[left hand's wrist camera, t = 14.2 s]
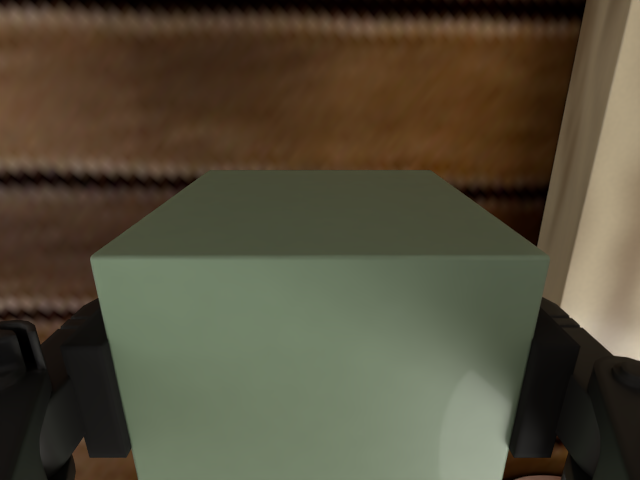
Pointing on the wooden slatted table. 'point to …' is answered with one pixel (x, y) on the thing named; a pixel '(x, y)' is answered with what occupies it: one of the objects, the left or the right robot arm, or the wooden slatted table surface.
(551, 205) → the birch board
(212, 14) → the wooden slatted table surface
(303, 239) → the green block
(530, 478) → the anatomical model
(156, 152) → the wooden slatted table surface
